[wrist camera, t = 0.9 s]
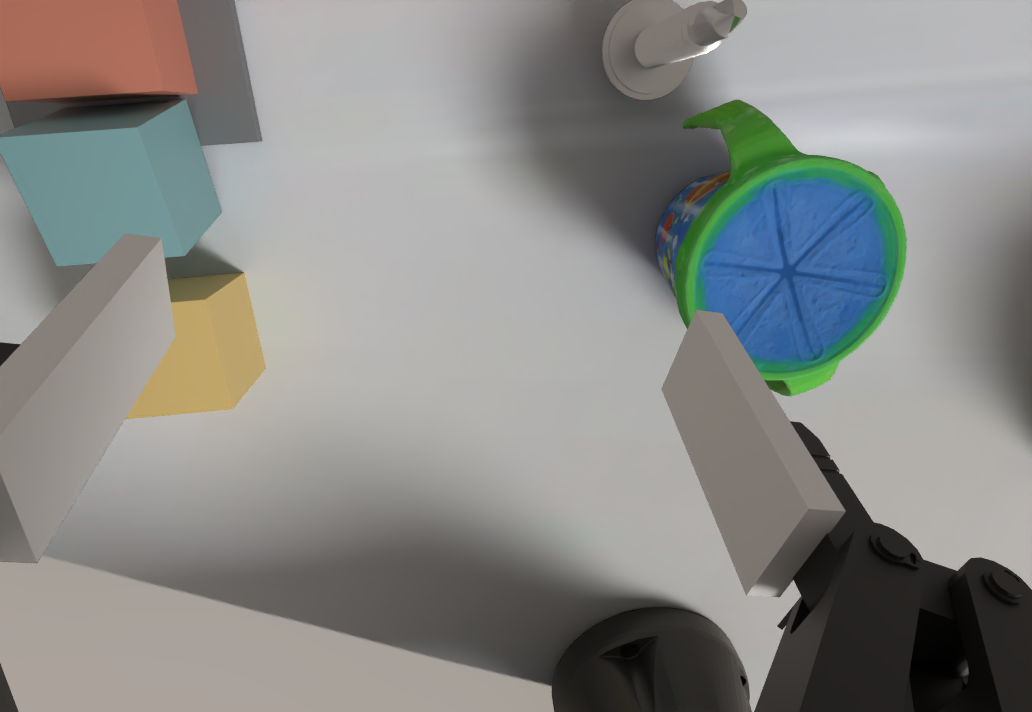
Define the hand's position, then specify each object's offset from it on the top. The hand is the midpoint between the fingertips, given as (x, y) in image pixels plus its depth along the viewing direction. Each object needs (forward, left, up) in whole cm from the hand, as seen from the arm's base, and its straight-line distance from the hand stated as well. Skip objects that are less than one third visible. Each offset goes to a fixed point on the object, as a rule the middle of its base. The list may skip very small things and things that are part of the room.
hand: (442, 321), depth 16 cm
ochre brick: (-12, +11, -22) cm, 27 cm away
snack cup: (+5, -15, -22) cm, 27 cm away
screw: (+12, -6, -22) cm, 26 cm away
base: (+2, +19, -22) cm, 29 cm away
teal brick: (-4, +16, -21) cm, 27 cm away
